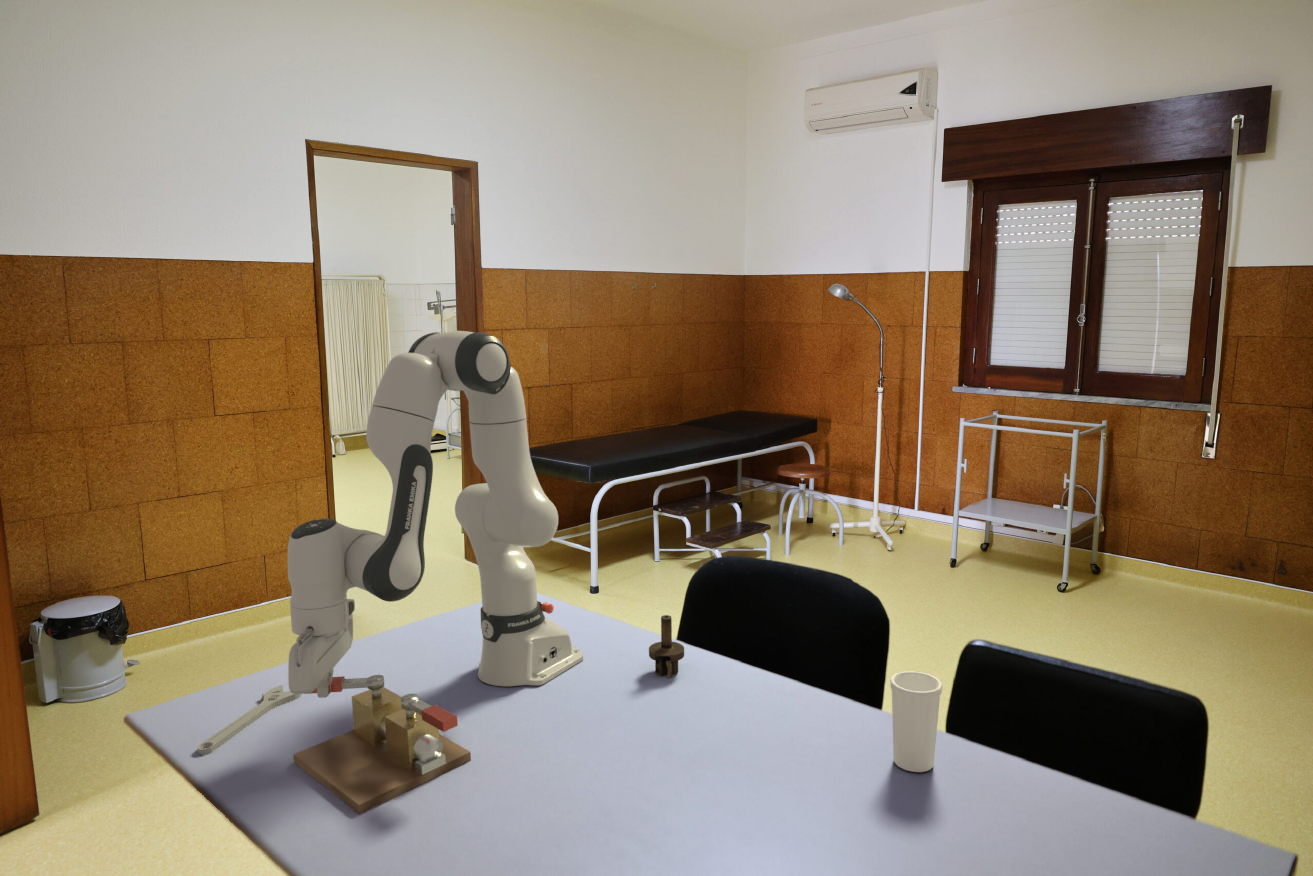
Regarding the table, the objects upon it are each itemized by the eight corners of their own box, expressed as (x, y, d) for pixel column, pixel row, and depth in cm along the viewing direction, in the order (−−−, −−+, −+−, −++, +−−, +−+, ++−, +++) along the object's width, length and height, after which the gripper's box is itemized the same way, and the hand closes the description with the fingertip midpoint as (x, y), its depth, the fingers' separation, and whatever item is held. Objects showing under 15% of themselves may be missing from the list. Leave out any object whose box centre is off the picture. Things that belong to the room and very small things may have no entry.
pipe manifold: (379, 719, 155) (375, 664, 153) (468, 774, 136) (465, 712, 134) (350, 731, 150) (345, 675, 149) (438, 789, 132) (434, 726, 130)
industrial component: (678, 682, 170) (678, 625, 169) (644, 678, 173) (643, 622, 171) (690, 663, 179) (690, 608, 177) (657, 659, 181) (656, 605, 179)
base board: (400, 718, 158) (400, 711, 158) (470, 760, 143) (470, 752, 143) (294, 762, 143) (293, 754, 143) (360, 814, 129) (359, 805, 128)
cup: (939, 755, 142) (943, 674, 140) (939, 781, 134) (942, 696, 132) (889, 747, 145) (891, 668, 142) (885, 773, 137) (888, 689, 135)
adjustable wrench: (207, 759, 146) (206, 749, 146) (178, 753, 148) (177, 744, 148) (308, 693, 169) (307, 685, 169) (282, 689, 171) (281, 681, 171)
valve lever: (385, 682, 149) (385, 673, 149) (382, 689, 146) (381, 681, 146) (309, 686, 148) (309, 678, 148) (304, 694, 145) (303, 685, 145)
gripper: (315, 640, 133) (321, 724, 135) (358, 597, 153) (362, 670, 155) (274, 641, 133) (280, 725, 135) (322, 597, 153) (327, 671, 155)
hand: (324, 695), depth 145 cm, fingers closed
